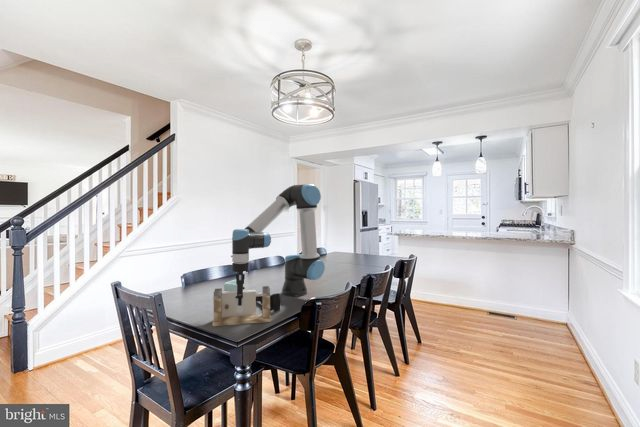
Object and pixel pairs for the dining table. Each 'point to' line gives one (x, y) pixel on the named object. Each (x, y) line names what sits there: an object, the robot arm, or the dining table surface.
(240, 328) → the dining table surface
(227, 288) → the right angle wall
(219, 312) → the hinge frame
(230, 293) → the cabinet door
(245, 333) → the dining table surface
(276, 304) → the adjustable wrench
